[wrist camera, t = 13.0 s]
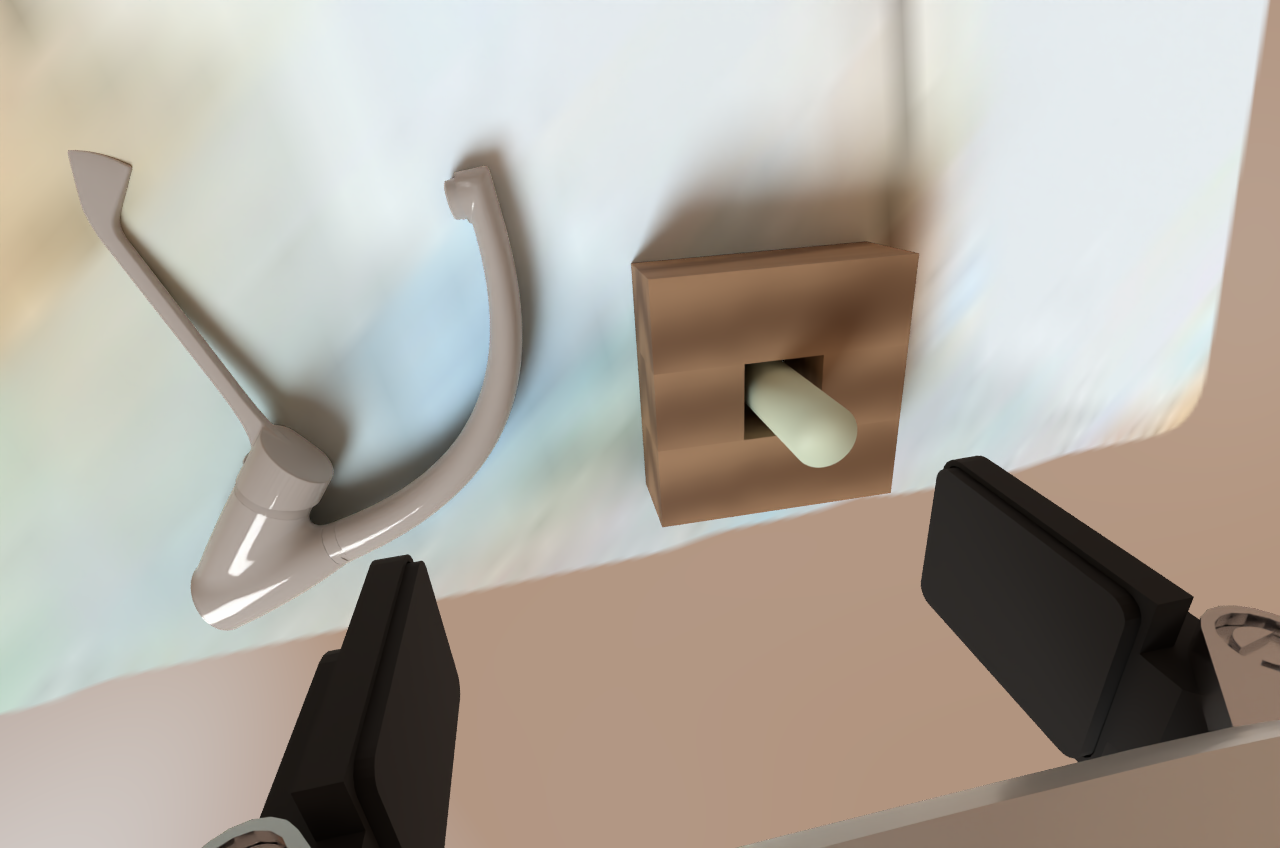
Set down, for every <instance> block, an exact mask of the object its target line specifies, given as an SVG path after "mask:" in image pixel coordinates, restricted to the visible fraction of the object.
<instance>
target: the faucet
mask: <svg viewBox="0 0 1280 848" xmlns="http://www.w3.org/2000/svg"><path fill="white" fill-rule="evenodd" d="M68 156H69V160H70V164H71V168H72V172H73V176H74V180H75V184H76V188H77V192H78V196H79V199H80V203H81V206H82V209H83V211H84V213H85V216H86V217H87V219H88V221H89V223H90V225H91V226H92V228H93V229H94V231H95V232H96V234H97V235H98V237H99V238H100V240H101V241H102V242H103V243H104V245H105V246H106V247H107V249H108V250H109V251H110V252H111V254H112V255H113V256H114V258H115V259H116V260H117V261H118V263H119V264H120V265H121V266H122V268H123V269H124V270H125V272H126V273H127V274H128V275H129V277H130V278H131V279H132V281H133V282H134V283H135V284H136V286H137V287H138V288H139V289H140V291H141V292H142V293H143V295H144V296H145V297H146V298H147V300H148V301H149V302H150V304H151V305H152V306H153V307H154V309H155V310H156V311H157V312H158V314H159V315H160V316H161V318H162V319H163V320H164V321H165V323H166V324H167V325H168V327H169V328H170V329H171V330H172V332H173V333H174V334H175V335H176V337H177V338H178V339H179V341H180V342H181V343H182V344H183V346H184V347H185V348H186V350H187V351H188V352H189V353H190V355H191V356H192V357H193V358H194V360H195V361H196V362H197V364H198V365H199V366H200V367H201V369H202V370H203V371H204V373H205V374H206V375H207V376H208V378H209V379H210V380H211V381H212V383H213V384H214V385H215V387H216V388H217V389H218V390H219V392H220V393H221V394H222V396H223V397H224V398H225V400H226V401H227V403H228V404H229V405H230V407H231V408H232V410H233V411H234V413H235V414H236V416H237V417H238V419H239V420H240V422H241V424H242V425H243V427H244V429H245V431H246V433H247V435H248V437H249V440H250V443H251V451H250V452H249V453H248V454H247V455H246V456H245V458H244V460H243V466H242V468H241V470H240V472H239V474H238V476H237V478H236V484H235V486H234V488H233V490H232V492H231V494H230V496H229V498H228V500H227V502H226V504H225V506H224V508H223V510H222V512H221V514H220V516H219V518H218V521H217V523H216V525H215V527H214V529H213V532H212V534H211V536H210V538H209V541H208V543H207V545H206V548H205V550H204V553H203V555H202V558H201V560H200V563H199V565H198V567H197V568H196V569H195V571H194V573H193V576H192V580H191V594H192V599H193V602H194V605H195V607H196V609H197V611H198V612H199V614H200V615H201V617H202V618H203V619H204V620H205V621H206V622H207V623H209V624H210V625H211V626H213V627H215V628H217V629H220V630H234V629H236V628H238V627H241V626H243V625H245V624H247V623H249V622H251V621H253V620H255V619H257V618H259V617H261V616H263V615H265V614H267V613H269V612H271V611H273V610H275V609H276V608H278V607H280V606H282V605H283V604H285V603H287V602H289V601H291V600H292V599H294V598H296V597H297V596H299V595H301V594H302V593H304V592H305V591H307V590H309V589H310V588H312V587H313V586H315V585H316V584H318V583H320V582H321V581H323V580H324V579H326V578H327V577H328V576H330V575H331V574H333V573H334V572H336V571H337V570H338V569H340V568H341V567H342V566H344V565H345V564H347V563H349V562H351V561H353V560H354V559H356V558H359V557H361V556H363V555H365V554H367V553H369V552H371V551H373V550H375V549H377V548H379V547H381V546H383V545H385V544H387V543H389V542H391V541H393V540H394V539H396V538H398V537H399V536H401V535H403V534H405V533H406V532H408V531H409V530H411V529H413V528H414V527H416V526H417V525H419V524H420V523H422V522H423V521H424V520H426V519H427V518H429V517H430V516H431V515H433V514H434V513H435V512H437V511H438V510H439V509H440V508H442V507H443V506H444V505H445V504H446V503H448V502H449V501H450V500H451V499H452V498H453V497H454V496H455V495H456V494H457V493H458V492H459V491H460V490H461V489H462V488H463V487H464V486H465V485H466V484H467V483H468V482H469V481H470V480H471V479H472V478H473V476H474V475H475V474H476V473H477V472H478V470H479V469H480V468H481V466H482V465H483V464H484V462H485V461H486V459H487V458H488V456H489V455H490V453H491V452H492V450H493V449H494V447H495V445H496V443H497V441H498V440H499V438H500V436H501V434H502V432H503V430H504V427H505V425H506V423H507V420H508V418H509V415H510V412H511V409H512V406H513V403H514V399H515V395H516V391H517V387H518V381H519V376H520V368H521V358H522V311H521V301H520V293H519V285H518V279H517V273H516V268H515V263H514V258H513V253H512V249H511V245H510V241H509V237H508V233H507V229H506V226H505V222H504V218H503V215H502V211H501V208H500V204H499V201H498V197H497V194H496V190H495V187H494V183H493V180H492V176H491V173H490V170H489V168H488V167H487V166H480V167H475V168H471V169H467V170H463V171H458V172H454V178H452V179H450V180H447V181H445V183H444V190H445V195H446V198H447V202H448V205H449V208H450V210H451V213H452V215H453V217H454V218H455V219H456V220H460V219H463V220H464V219H467V220H468V221H469V223H472V224H473V227H474V231H475V235H476V238H477V242H478V246H479V250H480V254H481V258H482V263H483V268H484V273H485V279H486V285H487V292H488V301H489V314H490V342H489V354H488V361H487V368H486V373H485V377H484V381H483V385H482V388H481V391H480V394H479V397H478V400H477V402H476V405H475V407H474V409H473V411H472V414H471V416H470V417H469V419H468V421H467V423H466V425H465V426H464V428H463V430H462V431H461V433H460V434H459V436H458V437H457V438H456V440H455V441H454V442H453V444H452V445H451V446H450V448H449V449H448V450H447V451H446V452H445V453H444V454H443V455H442V456H441V457H440V458H439V460H438V461H437V462H435V463H434V464H433V465H432V466H431V467H430V468H429V469H428V470H427V471H425V472H424V473H423V474H422V475H420V476H419V477H418V478H416V479H415V480H414V481H412V482H411V483H410V484H408V485H407V486H405V487H404V488H402V489H401V490H399V491H397V492H396V493H394V494H392V495H391V496H389V497H387V498H385V499H384V500H382V501H380V502H378V503H376V504H374V505H372V506H370V507H368V508H366V509H363V510H361V511H359V512H357V513H354V514H352V515H350V516H347V517H345V518H342V519H340V520H337V521H334V522H331V523H329V524H325V525H315V524H313V523H312V522H311V520H310V518H309V515H310V512H311V510H312V507H313V506H315V505H317V504H318V503H319V502H320V500H321V498H322V496H323V494H324V492H325V491H326V489H327V487H328V485H329V483H330V481H331V479H332V477H333V474H334V471H333V466H332V464H331V462H330V460H329V458H328V457H327V456H326V454H325V453H324V452H322V451H321V450H320V449H319V448H317V447H316V446H315V445H313V444H312V443H311V442H309V441H308V440H307V439H305V438H304V437H302V436H301V435H300V434H298V433H297V432H295V431H294V430H292V429H290V428H288V427H285V426H281V425H273V424H272V423H271V422H270V421H269V420H268V419H267V418H266V417H265V416H264V414H263V413H262V412H261V411H260V410H259V409H258V408H257V406H256V405H255V404H254V403H253V402H252V400H251V399H250V398H249V397H248V395H247V394H246V393H245V392H244V390H243V389H242V388H241V386H240V385H239V384H238V383H237V381H236V380H235V379H234V377H233V376H232V375H231V373H230V372H229V371H228V369H227V368H226V367H225V366H224V364H223V363H222V362H221V360H220V359H219V358H218V356H217V355H216V354H215V353H214V351H213V350H212V349H211V347H210V346H209V345H208V343H207V342H206V341H205V340H204V338H203V337H202V336H201V334H200V333H199V332H198V330H197V329H196V328H195V326H194V325H193V324H192V323H191V321H190V320H189V319H188V317H187V316H186V315H185V313H184V312H183V311H182V310H181V308H180V307H179V306H178V304H177V303H176V302H175V300H174V299H173V298H172V297H171V295H170V294H169V293H168V291H167V290H166V289H165V287H164V286H163V285H162V283H161V282H160V281H159V280H158V278H157V277H156V276H155V274H154V273H153V272H152V270H151V269H150V268H149V267H148V265H147V264H146V263H145V261H144V260H143V259H142V257H141V256H140V255H139V254H138V252H137V251H136V250H135V248H134V247H133V246H132V244H131V243H130V242H129V240H128V239H127V238H126V236H125V235H124V233H123V231H122V228H121V224H120V215H121V209H122V206H123V202H124V198H125V194H126V191H127V187H128V183H129V179H130V175H131V172H132V167H131V166H130V165H128V164H126V163H124V162H122V161H119V160H117V159H114V158H112V157H109V156H106V155H102V154H98V153H94V152H88V151H79V150H68Z"/></svg>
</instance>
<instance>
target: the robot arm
mask: <svg viewBox="0 0 1280 848" xmlns="http://www.w3.org/2000/svg"><path fill="white" fill-rule="evenodd" d="M921 589H922V592H923V595H924V597H925V599H926V601H927V602H928V604H929V605H930V606H931V607H932V608H933V609H934V610H935V611H936V613H937V614H938V615H939V616H940V617H941V618H942V619H943V620H944V622H945V623H946V624H947V625H948V626H949V627H950V628H951V629H952V630H953V632H955V634H956V635H957V636H958V637H959V638H960V639H961V641H962V642H963V643H964V644H965V645H966V646H967V647H968V648H969V650H970V651H971V652H972V653H973V654H974V655H975V656H976V657H977V658H978V659H979V661H980V662H981V663H982V664H983V665H984V666H985V667H986V668H987V670H988V671H990V673H991V674H992V675H993V676H994V677H995V678H996V679H997V681H998V682H999V683H1000V684H1001V685H1002V686H1003V688H1004V689H1005V690H1006V691H1007V692H1008V693H1009V694H1010V695H1011V696H1012V698H1013V699H1014V700H1015V701H1016V702H1017V703H1018V704H1019V705H1020V707H1021V708H1022V709H1023V710H1024V711H1025V712H1026V713H1027V714H1028V715H1029V717H1030V718H1031V719H1032V720H1033V721H1034V722H1035V723H1036V724H1037V726H1038V727H1039V728H1040V729H1041V730H1042V731H1043V732H1044V733H1045V735H1046V736H1047V737H1048V738H1049V739H1050V740H1051V741H1052V742H1053V743H1054V745H1055V746H1056V747H1057V748H1058V749H1059V750H1060V751H1061V752H1062V753H1063V754H1065V755H1066V756H1068V757H1071V758H1075V759H1076V760H1077V761H1078V763H1074V764H1070V765H1066V766H1062V767H1058V768H1053V769H1049V770H1045V771H1041V772H1037V773H1033V774H1029V775H1025V776H1021V777H1016V778H1013V779H1009V780H1004V781H1000V782H996V783H992V784H988V785H984V786H980V787H976V788H972V789H968V790H964V791H960V792H956V793H952V794H948V795H944V796H940V797H936V798H932V799H928V800H924V801H919V802H916V803H911V804H907V805H903V806H899V807H896V808H892V809H887V810H883V811H879V812H876V813H872V814H868V815H864V816H860V817H856V818H852V819H848V820H844V821H840V822H836V823H832V824H828V825H824V826H820V827H816V828H812V829H808V830H804V831H800V832H796V833H793V834H788V835H784V836H780V837H776V838H772V839H769V840H765V841H761V842H757V843H753V844H749V845H745V846H741V847H737V848H1280V616H1278V615H1276V614H1273V613H1269V612H1265V611H1262V610H1259V609H1255V608H1248V607H1242V606H1218V607H1214V608H1211V609H1208V610H1206V612H1205V613H1204V614H1203V615H1202V616H1201V618H1200V620H1199V619H1198V618H1196V617H1195V616H1193V615H1192V614H1190V613H1189V612H1188V610H1189V608H1190V605H1191V603H1192V600H1193V596H1192V595H1190V594H1189V593H1187V592H1186V591H1184V590H1183V589H1181V588H1180V587H1178V586H1177V585H1175V584H1174V583H1172V582H1171V581H1169V580H1168V579H1166V578H1165V577H1163V576H1162V575H1160V574H1159V573H1157V572H1156V571H1154V570H1153V569H1151V568H1150V567H1148V566H1147V565H1145V564H1144V563H1142V562H1141V561H1139V560H1138V559H1137V558H1135V557H1134V556H1132V555H1130V554H1129V553H1128V552H1126V551H1125V550H1123V549H1122V548H1120V547H1119V546H1117V545H1116V544H1114V543H1113V542H1111V541H1110V540H1108V539H1107V538H1105V537H1103V536H1102V535H1101V534H1099V533H1097V532H1096V531H1095V530H1093V529H1092V528H1090V527H1089V526H1087V525H1086V524H1084V523H1083V522H1081V521H1080V520H1078V519H1077V518H1075V517H1074V516H1072V515H1071V514H1069V513H1068V512H1066V511H1065V510H1063V509H1062V508H1060V507H1059V506H1057V505H1056V504H1054V503H1053V502H1051V501H1050V500H1048V499H1047V498H1045V497H1044V496H1042V495H1041V494H1039V493H1038V492H1036V491H1035V490H1033V489H1032V488H1030V487H1029V486H1028V485H1026V484H1024V483H1023V482H1021V481H1020V480H1019V479H1017V478H1016V477H1014V476H1013V475H1011V474H1010V473H1008V472H1007V471H1005V470H1004V469H1002V468H1001V467H999V466H998V465H996V464H995V463H993V462H992V461H990V460H989V459H987V458H985V457H983V456H973V457H967V458H961V459H955V460H951V461H949V462H947V463H946V465H945V466H944V469H943V470H941V471H940V472H939V473H938V475H937V479H936V485H935V492H934V499H933V506H932V512H931V519H930V525H929V533H928V539H927V546H926V552H925V560H924V565H923V572H922V579H921ZM459 702H460V685H459V678H458V674H457V670H456V667H455V663H454V660H453V657H452V654H451V650H450V646H449V643H448V640H447V636H446V633H445V630H444V626H443V623H442V619H441V616H440V613H439V609H438V606H437V602H436V599H435V596H434V592H433V589H432V585H431V582H430V579H429V575H428V572H427V568H426V566H425V563H424V562H423V561H418V562H413V559H412V558H411V556H410V555H402V556H396V557H390V558H385V559H379V560H374V561H373V562H372V563H371V565H370V567H369V570H368V573H367V576H366V579H365V582H364V584H363V587H362V590H361V593H360V596H359V599H358V602H357V604H356V607H355V610H354V613H353V616H352V619H351V622H350V624H349V627H348V630H347V633H346V636H345V639H344V642H343V644H342V647H341V649H338V650H333V651H328V652H327V653H326V654H325V655H323V657H322V659H321V661H320V662H319V664H318V667H317V670H316V672H315V675H314V678H313V680H312V683H311V686H310V688H309V691H308V693H307V696H306V698H305V701H304V704H303V706H302V709H301V712H300V714H299V717H298V719H297V722H296V725H295V727H294V730H293V733H292V735H291V738H290V740H289V743H288V745H287V748H286V751H285V753H284V756H283V758H282V761H281V764H280V766H279V769H278V772H277V774H276V777H275V779H274V782H273V785H272V787H271V790H270V793H269V795H268V798H267V800H266V803H265V806H264V808H263V811H262V813H261V816H260V818H259V819H252V820H249V821H247V822H245V823H242V824H239V825H237V826H234V827H232V828H230V829H228V830H226V831H225V832H223V833H222V834H220V835H219V836H217V837H216V838H214V839H213V840H211V841H210V842H208V843H207V844H206V845H204V846H203V847H202V848H444V846H445V836H446V826H447V817H448V807H449V798H450V787H451V778H452V769H453V760H454V749H455V740H456V731H457V721H458V711H459Z"/></svg>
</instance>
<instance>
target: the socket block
mask: <svg viewBox="0 0 1280 848" xmlns="http://www.w3.org/2000/svg"><path fill="white" fill-rule="evenodd" d="M918 259H919V253H915V252H911V251H906V250H902V249H897V248H893V247H888V246H884V245H880V244H875V243H871V242H856V243H845V244H835V245H824V246H813V247H802V248H791V249H781V250H770V251H759V252H748V253H737V254H727V255H716V256H705V257H694V258H683V259H673V260H662V261H651V262H640V263H631V269H632V284H633V299H634V314H635V328H636V343H637V358H638V372H639V387H640V402H641V416H642V431H643V446H644V460H645V475H646V485H647V487H648V490H649V493H650V495H651V498H652V501H653V503H654V506H655V509H656V511H657V514H658V517H659V519H660V522H661V525H662V527H667V526H674V525H681V524H687V523H694V522H701V521H707V520H714V519H720V518H727V517H734V516H740V515H747V514H753V513H760V512H767V511H773V510H780V509H787V508H793V507H800V506H806V505H813V504H820V503H826V502H833V501H839V500H846V499H853V498H859V497H866V496H873V495H879V494H886V493H891V486H892V477H893V469H894V460H895V452H896V444H897V435H898V427H899V418H900V410H901V402H902V393H903V385H904V376H905V368H906V360H907V351H908V343H909V334H910V326H911V317H912V309H913V301H914V292H915V284H916V275H917V267H918ZM776 360H785V362H784V363H785V364H787V365H788V366H789V367H791V368H792V369H793V370H795V371H796V372H797V373H799V374H800V375H801V376H803V377H804V378H806V379H807V380H808V381H810V382H811V383H812V384H814V385H815V386H816V387H818V388H819V389H820V390H822V391H823V392H824V393H826V394H827V395H828V396H830V397H831V398H832V399H834V400H835V401H836V402H838V403H839V404H840V405H842V406H843V407H844V408H846V409H847V410H848V411H850V412H851V413H852V415H853V416H854V418H855V420H856V423H857V437H856V441H855V443H854V445H853V447H852V449H851V450H850V452H849V453H848V454H847V455H846V456H845V457H844V458H843V459H841V460H840V461H839V462H837V463H835V464H833V465H830V466H827V467H821V468H816V467H811V466H808V465H806V464H804V463H802V462H801V461H800V460H799V459H798V458H797V457H796V456H795V455H794V454H793V453H792V452H791V451H790V449H789V448H788V447H787V446H786V445H785V444H784V443H783V442H782V441H781V440H780V439H779V438H778V437H777V436H776V435H775V434H774V433H773V432H772V430H771V429H770V428H769V427H768V426H767V425H766V424H765V423H764V422H763V421H762V420H761V419H760V418H759V417H758V416H757V415H756V414H755V412H754V411H753V410H752V409H751V408H750V407H749V406H748V405H747V404H746V403H745V402H744V370H745V364H751V363H759V362H768V361H776Z"/></svg>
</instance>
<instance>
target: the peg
mask: <svg viewBox="0 0 1280 848" xmlns="http://www.w3.org/2000/svg"><path fill="white" fill-rule="evenodd" d="M744 402H745V403H746V404H747V405H748V406H749V407H750V408H751V409H752V410H753V411H754V412H755V414H756V415H757V416H758V417H759V418H760V419H761V420H762V421H763V422H764V423H765V424H766V425H767V426H768V427H769V428H770V429H771V430H772V432H773V433H774V434H775V435H776V436H777V437H778V438H779V439H780V440H781V441H782V442H783V443H784V444H785V445H786V446H787V447H788V448H789V449H790V451H791V452H792V453H793V454H794V455H795V456H796V457H797V458H798V459H799V460H800V461H801V462H802V463H804V464H806V465H808V466H811V467H816V468H821V467H827V466H830V465H833V464H835V463H837V462H839V461H840V460H841V459H843V458H844V457H845V456H846V455H847V454H848V453H849V452H850V450H851V449H852V447H853V445H854V443H855V441H856V437H857V423H856V420H855V418H854V416H853V415H852V413H851V412H850V411H848V410H847V409H846V408H844V407H843V406H842V405H840V404H839V403H838V402H836V401H835V400H834V399H832V398H831V397H830V396H828V395H827V394H826V393H824V392H823V391H822V390H820V389H819V388H818V387H816V386H815V385H814V384H812V383H811V382H810V381H808V380H807V379H806V378H804V377H803V376H801V375H800V374H799V373H797V372H796V371H795V370H793V369H792V368H791V367H789V366H788V365H787V364H785V363H784V362H783V361H781V360H776V361H768V362H759V363H751V364H745V370H744Z"/></svg>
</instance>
